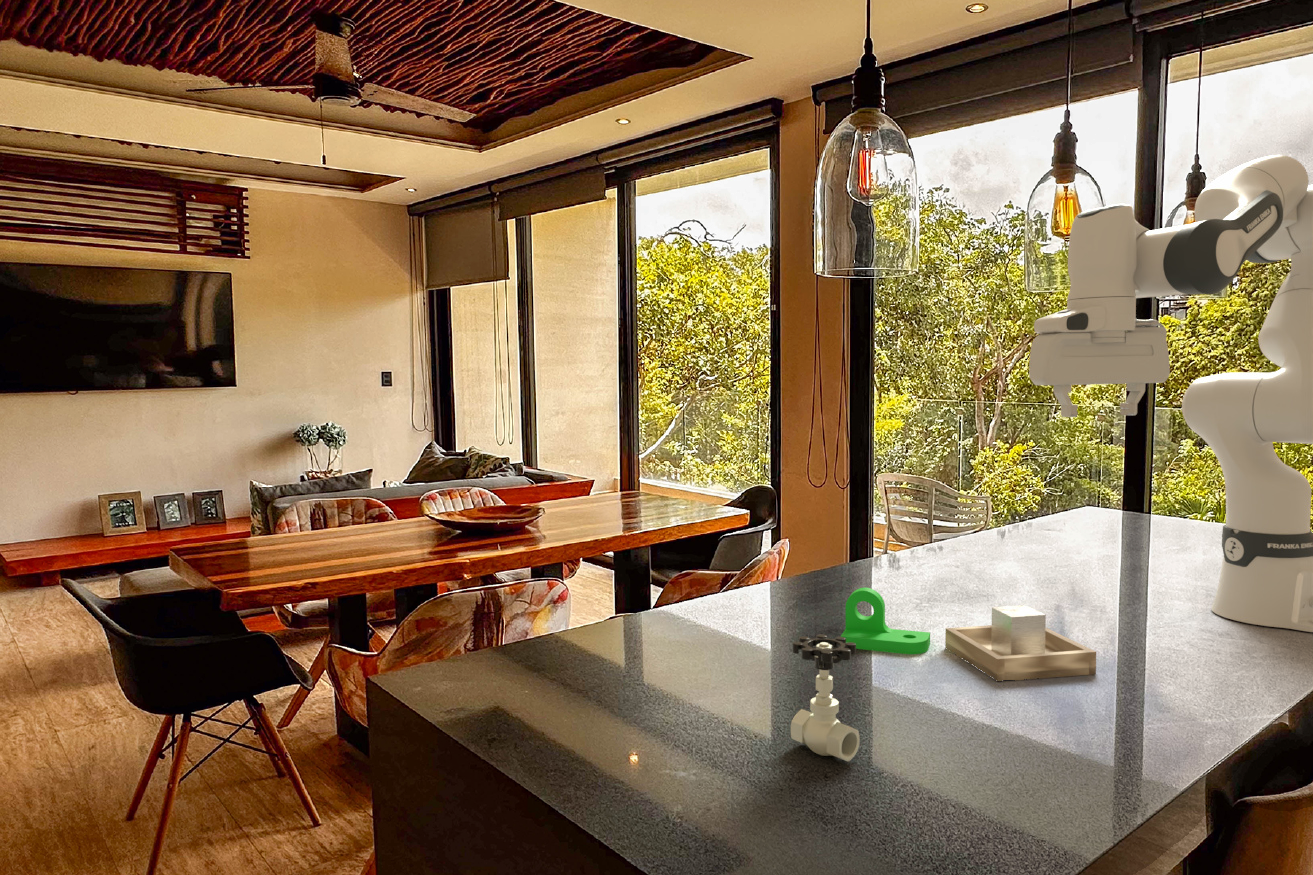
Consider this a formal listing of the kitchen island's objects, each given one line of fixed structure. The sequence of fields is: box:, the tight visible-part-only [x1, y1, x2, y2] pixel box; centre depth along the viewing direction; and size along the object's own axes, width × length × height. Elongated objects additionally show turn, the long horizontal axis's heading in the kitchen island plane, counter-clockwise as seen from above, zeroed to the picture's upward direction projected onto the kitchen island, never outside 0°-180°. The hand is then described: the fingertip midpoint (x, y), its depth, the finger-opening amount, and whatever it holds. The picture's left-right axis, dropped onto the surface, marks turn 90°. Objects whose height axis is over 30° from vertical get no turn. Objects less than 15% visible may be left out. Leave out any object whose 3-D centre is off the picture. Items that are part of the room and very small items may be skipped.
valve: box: [790, 633, 860, 762], centre depth 94 cm, size 7×7×12 cm
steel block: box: [991, 604, 1047, 656], centre depth 123 cm, size 5×5×6 cm
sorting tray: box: [944, 624, 1097, 682], centre depth 123 cm, size 14×14×3 cm
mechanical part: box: [840, 587, 931, 655], centre depth 130 cm, size 12×6×8 cm, turn 68°
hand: (1098, 416), depth 129 cm, fingers open, 8 cm apart
